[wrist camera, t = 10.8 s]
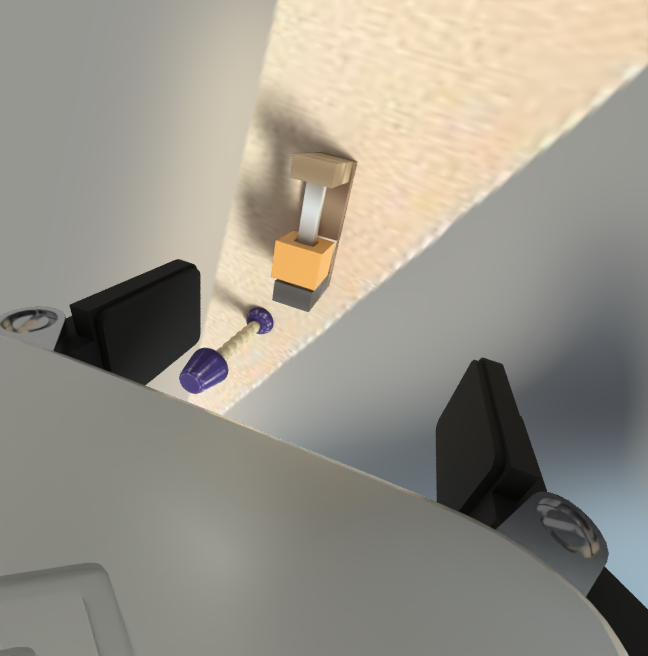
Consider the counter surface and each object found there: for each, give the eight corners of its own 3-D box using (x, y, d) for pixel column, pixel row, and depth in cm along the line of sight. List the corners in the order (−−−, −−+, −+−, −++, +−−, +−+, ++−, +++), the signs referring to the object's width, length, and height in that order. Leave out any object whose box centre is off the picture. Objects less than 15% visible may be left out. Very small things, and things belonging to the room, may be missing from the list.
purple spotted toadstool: (241, 318, 50) (166, 384, 36) (253, 297, 47) (178, 359, 33) (266, 337, 50) (201, 409, 36) (280, 317, 48) (216, 386, 34)
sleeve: (293, 230, 37) (275, 240, 33) (334, 242, 36) (322, 254, 32) (288, 263, 39) (270, 276, 35) (327, 275, 38) (314, 290, 34)
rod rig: (319, 152, 36) (291, 152, 29) (357, 161, 35) (338, 164, 28) (298, 275, 44) (272, 300, 37) (329, 285, 43) (308, 312, 36)
